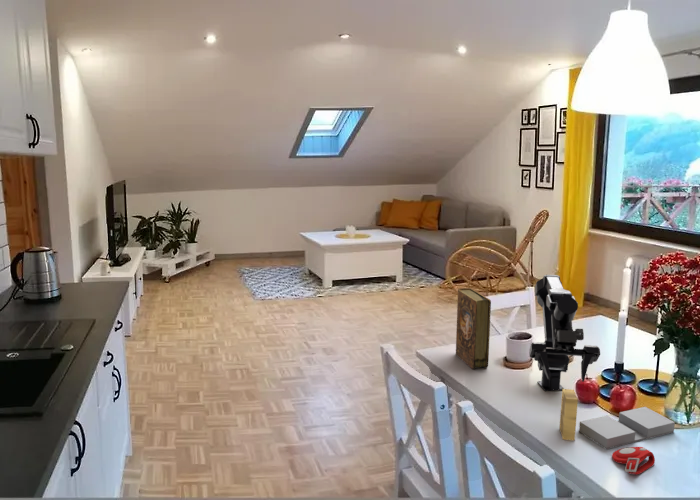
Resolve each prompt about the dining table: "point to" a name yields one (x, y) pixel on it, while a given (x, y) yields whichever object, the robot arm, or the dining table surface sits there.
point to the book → (473, 328)
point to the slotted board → (626, 427)
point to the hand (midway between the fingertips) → (566, 379)
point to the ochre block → (568, 414)
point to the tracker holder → (634, 459)
